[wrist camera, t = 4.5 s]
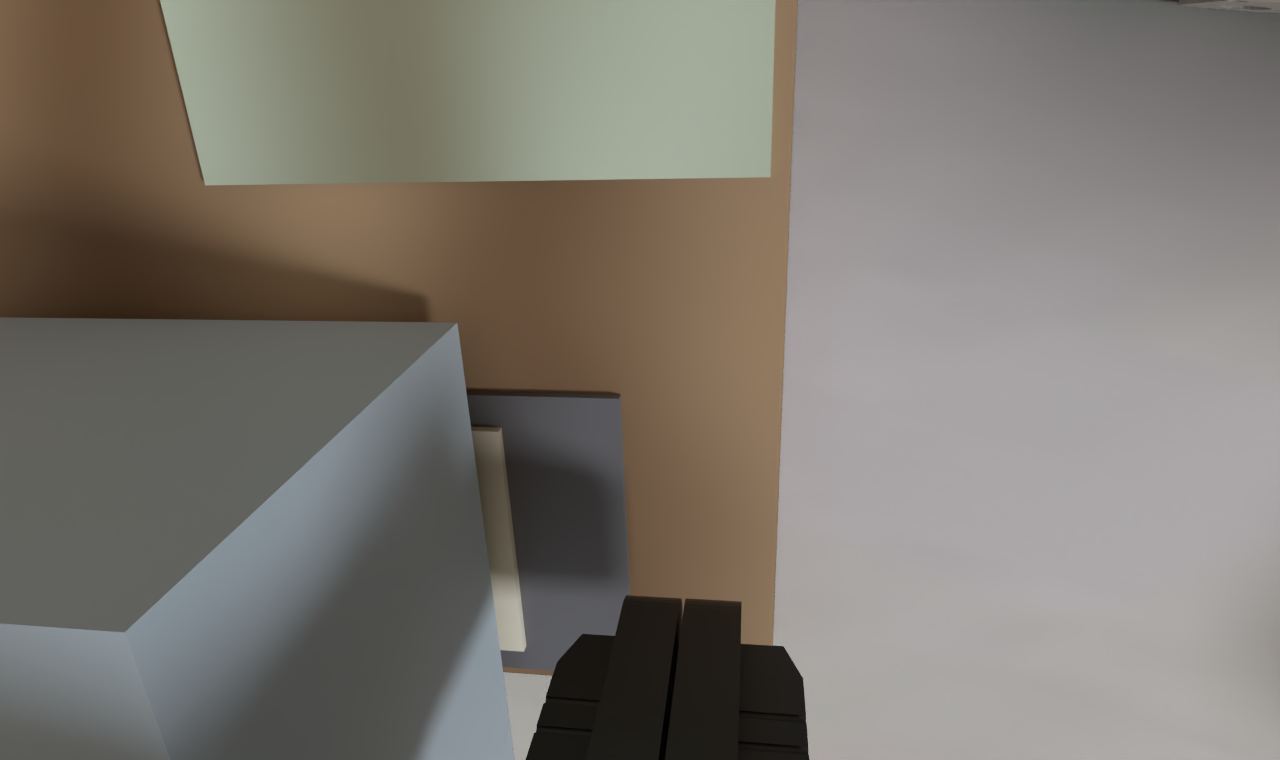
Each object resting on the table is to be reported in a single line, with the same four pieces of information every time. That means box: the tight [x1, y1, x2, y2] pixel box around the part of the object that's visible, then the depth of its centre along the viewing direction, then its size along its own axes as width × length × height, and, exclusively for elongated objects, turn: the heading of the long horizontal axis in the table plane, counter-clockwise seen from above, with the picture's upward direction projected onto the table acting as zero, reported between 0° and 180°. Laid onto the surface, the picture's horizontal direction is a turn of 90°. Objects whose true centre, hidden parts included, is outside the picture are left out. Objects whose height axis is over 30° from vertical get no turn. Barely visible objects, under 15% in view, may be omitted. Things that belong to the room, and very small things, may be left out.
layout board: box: [0, 0, 798, 676], centre depth 12 cm, size 18×15×2 cm
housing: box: [0, 317, 515, 760], centre depth 9 cm, size 8×8×7 cm
